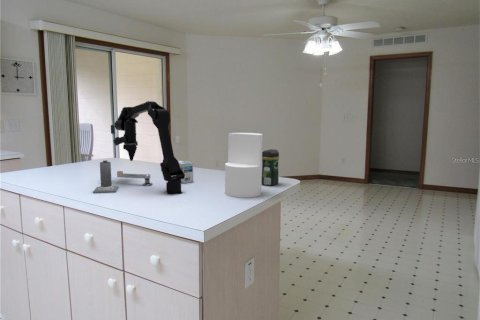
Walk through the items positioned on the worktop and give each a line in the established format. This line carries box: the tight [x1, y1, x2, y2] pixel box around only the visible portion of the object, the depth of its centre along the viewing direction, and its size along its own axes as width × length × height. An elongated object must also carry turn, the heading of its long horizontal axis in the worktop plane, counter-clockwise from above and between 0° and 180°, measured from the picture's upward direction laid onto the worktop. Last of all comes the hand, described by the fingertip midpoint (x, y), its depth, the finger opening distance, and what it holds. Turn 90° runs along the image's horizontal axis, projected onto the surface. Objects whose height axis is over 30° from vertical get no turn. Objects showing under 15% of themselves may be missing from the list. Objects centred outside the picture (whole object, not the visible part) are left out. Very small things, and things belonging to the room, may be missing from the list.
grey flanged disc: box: [142, 178, 153, 187], centre depth 178 cm, size 5×5×3 cm
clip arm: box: [116, 170, 151, 180], centre depth 178 cm, size 18×3×3 cm, turn 82°
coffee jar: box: [261, 148, 280, 187], centre depth 182 cm, size 10×8×19 cm
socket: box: [92, 185, 120, 194], centre depth 166 cm, size 10×10×1 cm
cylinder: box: [224, 132, 264, 198], centre depth 162 cm, size 17×17×28 cm
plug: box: [99, 160, 114, 190], centre depth 165 cm, size 6×6×13 cm
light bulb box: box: [174, 160, 194, 184], centre depth 187 cm, size 11×7×11 cm, turn 47°
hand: (131, 160), depth 183 cm, fingers closed
